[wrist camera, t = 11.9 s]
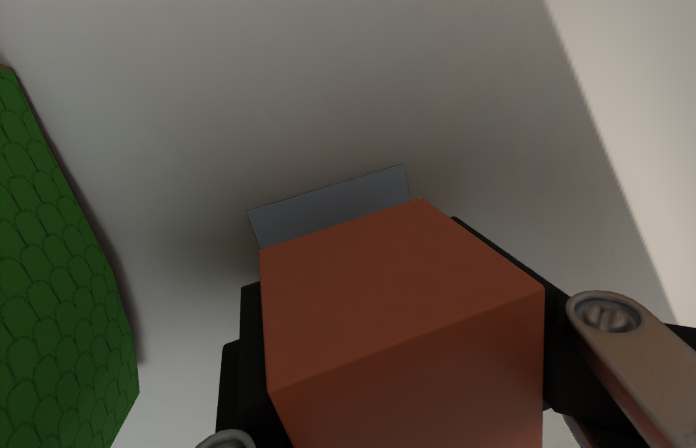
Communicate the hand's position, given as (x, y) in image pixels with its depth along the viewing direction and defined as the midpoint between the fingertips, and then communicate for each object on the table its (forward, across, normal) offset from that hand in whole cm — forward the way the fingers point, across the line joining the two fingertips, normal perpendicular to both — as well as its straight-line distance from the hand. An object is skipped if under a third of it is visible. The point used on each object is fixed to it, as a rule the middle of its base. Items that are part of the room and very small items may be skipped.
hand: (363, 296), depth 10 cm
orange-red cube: (0, 0, 0) cm, 0 cm away
